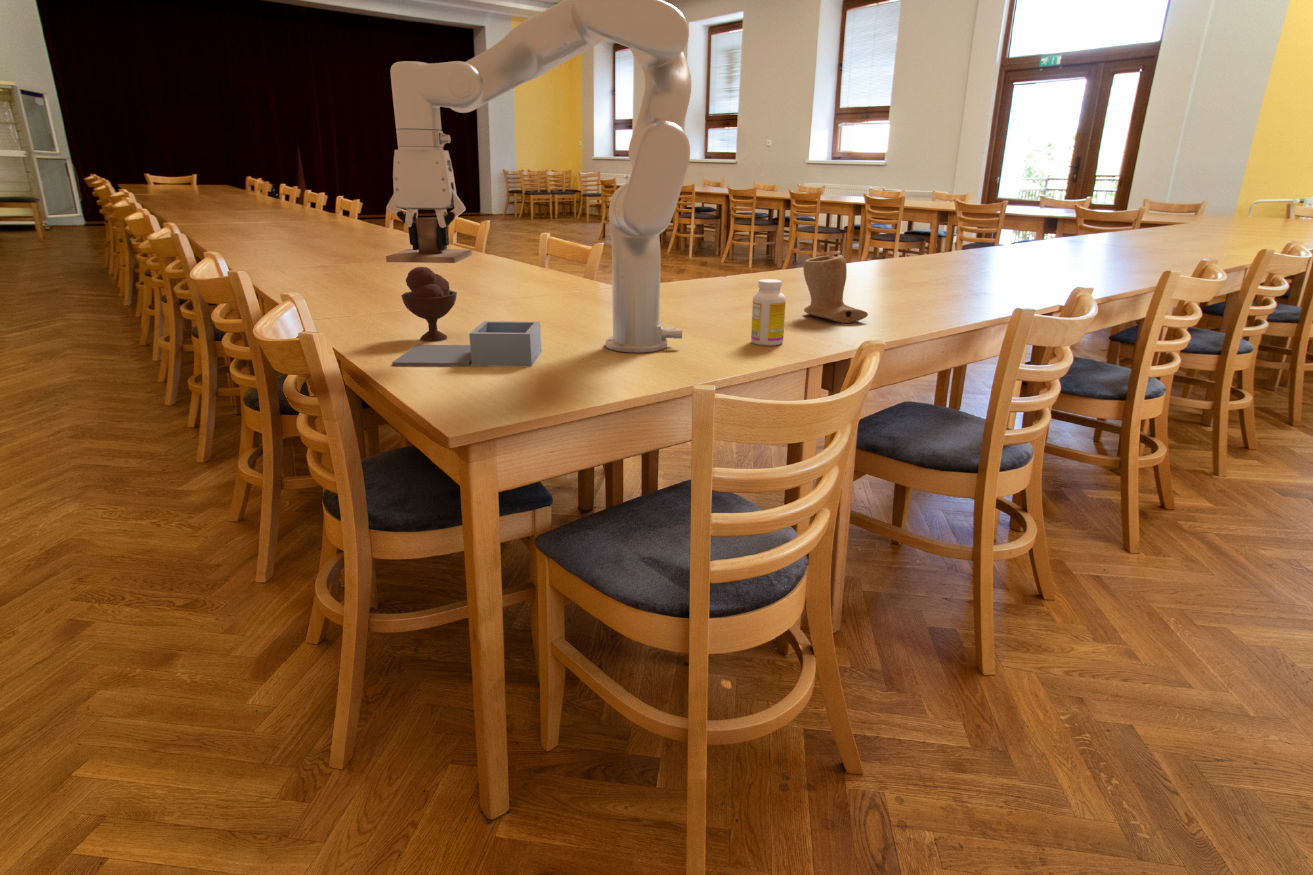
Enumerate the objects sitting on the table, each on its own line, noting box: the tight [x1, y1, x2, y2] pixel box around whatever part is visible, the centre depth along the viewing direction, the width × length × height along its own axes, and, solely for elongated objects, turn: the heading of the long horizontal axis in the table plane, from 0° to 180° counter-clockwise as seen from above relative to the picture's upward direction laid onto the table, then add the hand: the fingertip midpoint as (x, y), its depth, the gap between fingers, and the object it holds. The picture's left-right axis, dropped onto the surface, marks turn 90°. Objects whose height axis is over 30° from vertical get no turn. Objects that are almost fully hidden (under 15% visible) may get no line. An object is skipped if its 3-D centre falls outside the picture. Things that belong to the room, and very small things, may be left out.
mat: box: [391, 344, 472, 367], centre depth 142 cm, size 14×14×1 cm
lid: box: [385, 217, 473, 264], centre depth 134 cm, size 12×12×7 cm
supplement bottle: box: [750, 278, 786, 347], centre depth 152 cm, size 7×7×13 cm
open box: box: [469, 320, 543, 367], centre depth 140 cm, size 11×11×6 cm
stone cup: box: [803, 254, 869, 324], centre depth 176 cm, size 15×12×15 cm
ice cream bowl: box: [400, 266, 458, 342], centre depth 154 cm, size 11×11×15 cm
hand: (430, 248), depth 135 cm, fingers closed on lid, 4 cm apart
